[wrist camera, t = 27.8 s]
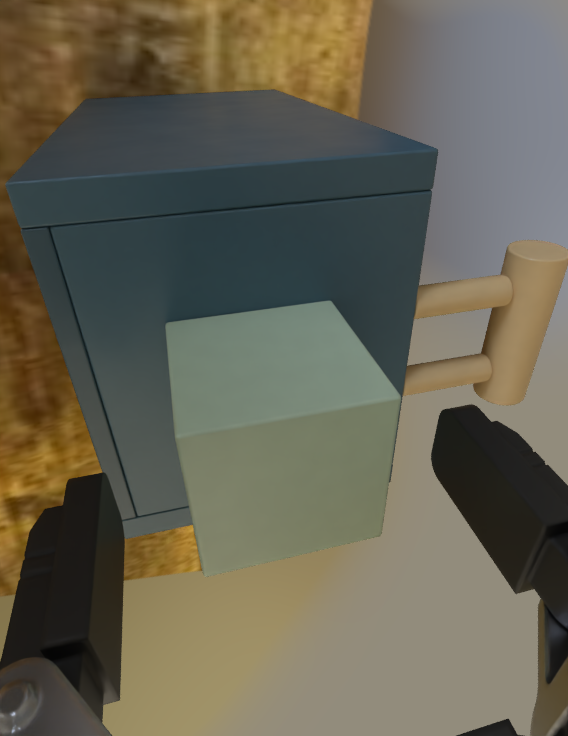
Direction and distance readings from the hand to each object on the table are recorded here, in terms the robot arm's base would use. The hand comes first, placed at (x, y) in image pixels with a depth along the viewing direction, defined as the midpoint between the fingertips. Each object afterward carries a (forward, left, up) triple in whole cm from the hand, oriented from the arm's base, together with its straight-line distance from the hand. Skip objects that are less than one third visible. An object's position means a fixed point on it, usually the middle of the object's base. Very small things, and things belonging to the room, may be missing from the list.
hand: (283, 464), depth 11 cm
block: (0, 0, -4) cm, 4 cm away
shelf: (0, -5, -12) cm, 13 cm away
